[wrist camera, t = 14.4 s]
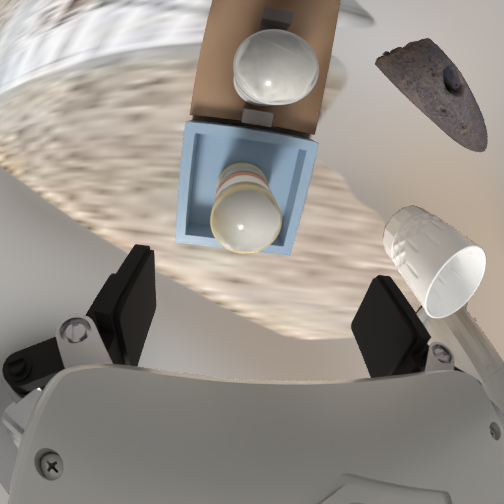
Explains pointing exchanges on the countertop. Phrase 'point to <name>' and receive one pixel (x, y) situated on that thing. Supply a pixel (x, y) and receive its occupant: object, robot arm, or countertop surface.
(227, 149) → the tray
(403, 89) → the perforated stone tool
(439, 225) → the white cup
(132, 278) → the robot arm
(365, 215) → the countertop surface
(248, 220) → the marked fuse
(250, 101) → the grey rounded cylinder
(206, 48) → the fuse holder
